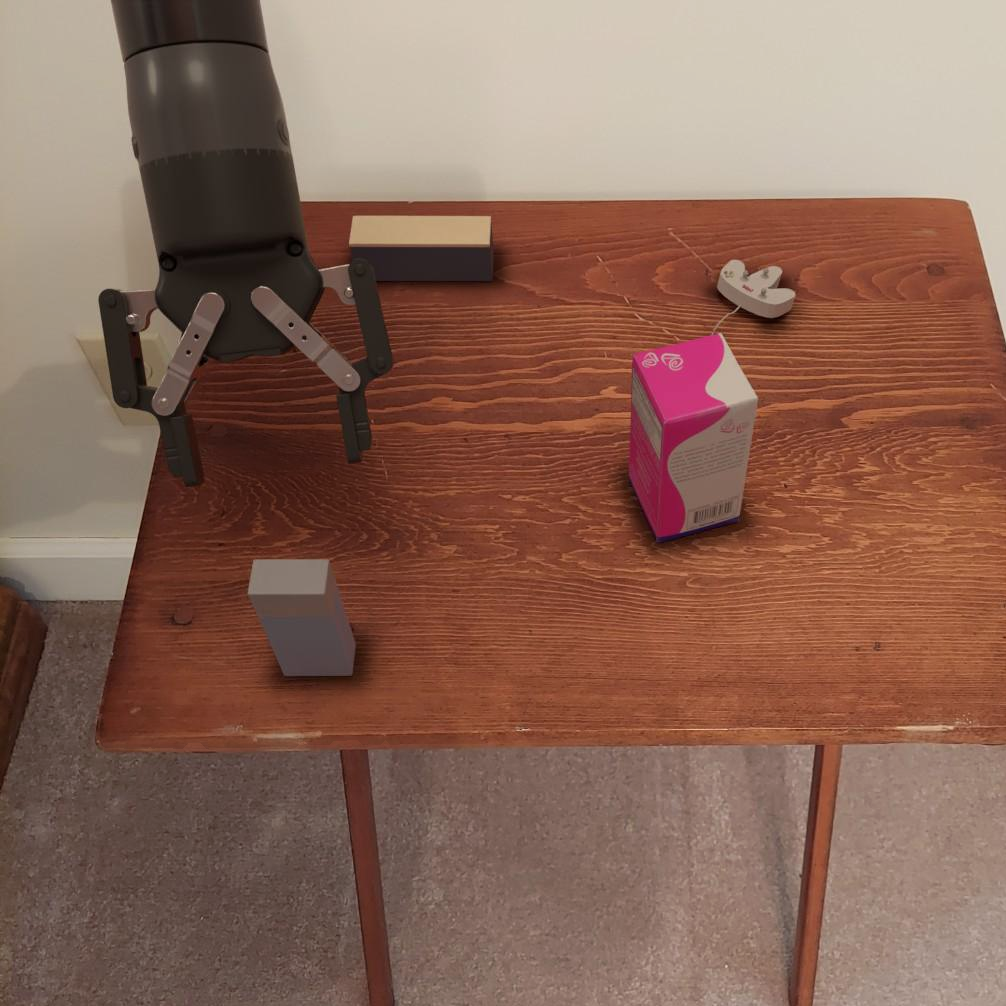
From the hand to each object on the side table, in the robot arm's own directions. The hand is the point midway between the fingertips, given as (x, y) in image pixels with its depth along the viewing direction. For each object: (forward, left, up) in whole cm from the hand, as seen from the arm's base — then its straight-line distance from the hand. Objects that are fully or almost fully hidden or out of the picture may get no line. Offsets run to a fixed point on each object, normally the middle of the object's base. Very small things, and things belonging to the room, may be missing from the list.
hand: (275, 473), depth 63 cm
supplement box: (+23, +7, -11) cm, 26 cm away
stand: (+5, +28, -11) cm, 31 cm away
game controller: (+27, +23, -11) cm, 37 cm away
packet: (+1, -5, -11) cm, 12 cm away
